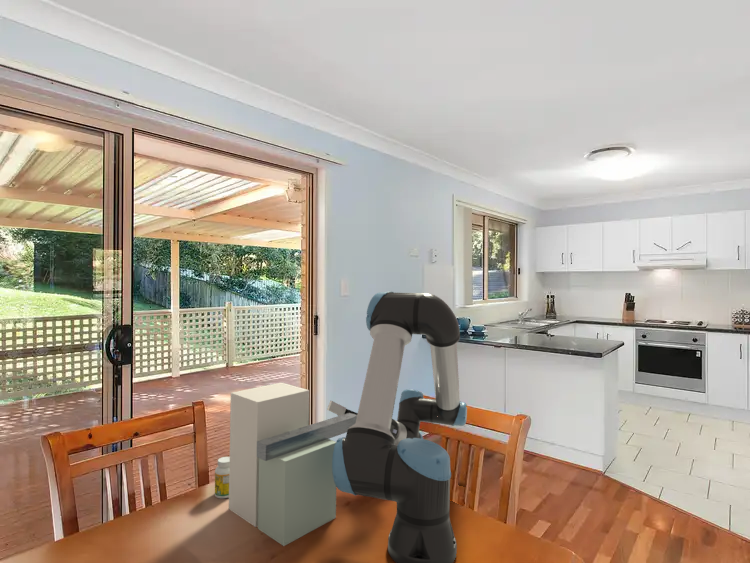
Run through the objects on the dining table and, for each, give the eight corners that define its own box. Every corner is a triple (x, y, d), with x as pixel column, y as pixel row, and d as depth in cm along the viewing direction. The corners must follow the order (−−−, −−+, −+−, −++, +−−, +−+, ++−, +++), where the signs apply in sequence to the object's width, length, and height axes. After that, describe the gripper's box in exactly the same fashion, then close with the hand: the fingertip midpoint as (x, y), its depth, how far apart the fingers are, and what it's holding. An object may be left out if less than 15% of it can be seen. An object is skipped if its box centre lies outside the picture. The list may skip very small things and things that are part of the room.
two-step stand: (279, 487, 126) (281, 382, 125) (335, 517, 111) (338, 398, 110) (228, 508, 114) (230, 392, 113) (283, 546, 99) (286, 412, 98)
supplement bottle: (237, 496, 120) (237, 461, 120) (216, 501, 118) (217, 465, 118) (232, 487, 125) (233, 454, 125) (212, 492, 122) (213, 457, 122)
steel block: (349, 425, 123) (349, 412, 123) (358, 428, 121) (358, 415, 121) (256, 456, 101) (256, 441, 101) (265, 461, 98) (265, 445, 98)
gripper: (416, 454, 126) (372, 434, 111) (356, 433, 142) (311, 413, 127) (424, 428, 128) (382, 405, 114) (364, 410, 144) (321, 388, 130)
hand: (344, 409), depth 121 cm, fingers open, 12 cm apart
